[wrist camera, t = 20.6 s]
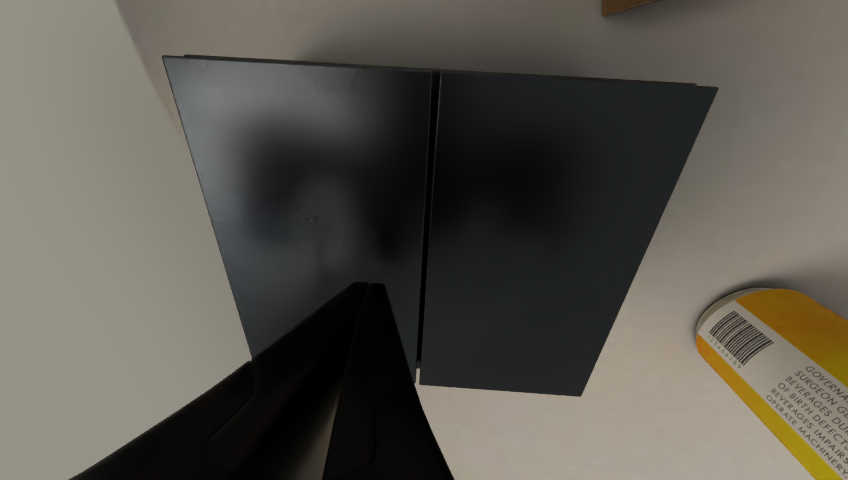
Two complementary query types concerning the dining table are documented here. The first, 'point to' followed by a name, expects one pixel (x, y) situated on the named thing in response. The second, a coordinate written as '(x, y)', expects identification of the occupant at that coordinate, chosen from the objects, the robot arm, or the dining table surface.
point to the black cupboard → (539, 218)
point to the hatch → (310, 183)
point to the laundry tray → (621, 5)
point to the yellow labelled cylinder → (785, 370)
